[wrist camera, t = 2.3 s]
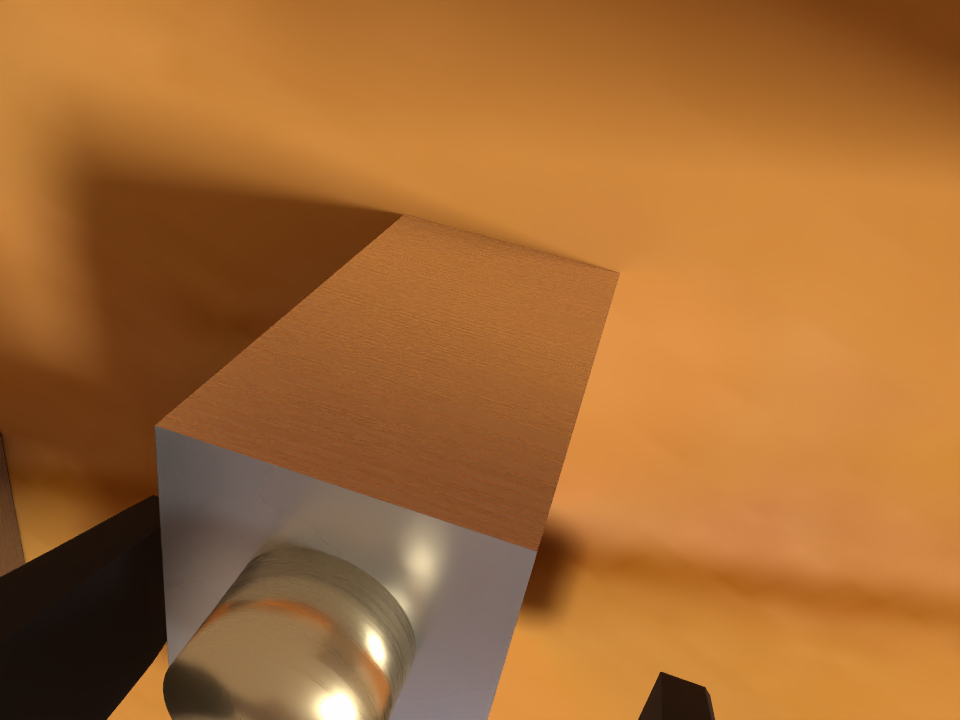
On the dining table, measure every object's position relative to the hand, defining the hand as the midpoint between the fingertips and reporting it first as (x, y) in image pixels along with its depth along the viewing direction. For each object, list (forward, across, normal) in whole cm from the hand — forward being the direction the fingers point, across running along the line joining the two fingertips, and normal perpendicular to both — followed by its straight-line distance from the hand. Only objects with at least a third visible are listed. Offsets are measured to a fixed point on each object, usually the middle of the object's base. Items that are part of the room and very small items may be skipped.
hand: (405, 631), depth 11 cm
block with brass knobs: (+2, 0, 0) cm, 2 cm away
